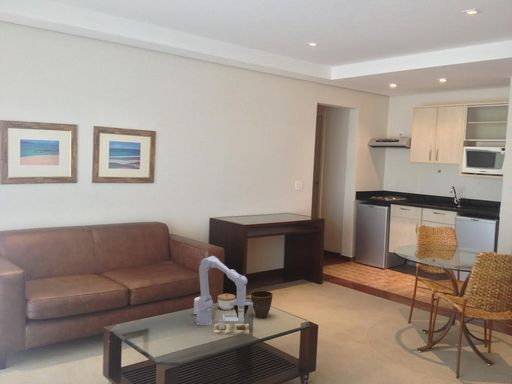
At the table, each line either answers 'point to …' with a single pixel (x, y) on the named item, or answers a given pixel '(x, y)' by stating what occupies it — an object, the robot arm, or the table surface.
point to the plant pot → (261, 303)
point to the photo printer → (196, 304)
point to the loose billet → (240, 314)
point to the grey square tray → (231, 319)
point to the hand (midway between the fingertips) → (241, 317)
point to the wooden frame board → (231, 329)
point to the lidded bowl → (226, 301)
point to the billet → (221, 324)
